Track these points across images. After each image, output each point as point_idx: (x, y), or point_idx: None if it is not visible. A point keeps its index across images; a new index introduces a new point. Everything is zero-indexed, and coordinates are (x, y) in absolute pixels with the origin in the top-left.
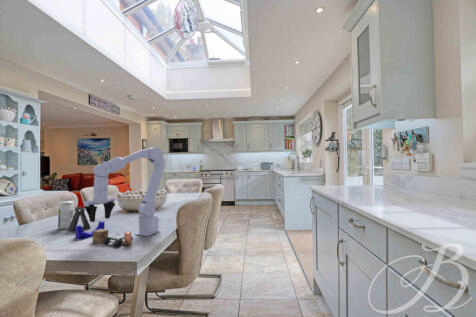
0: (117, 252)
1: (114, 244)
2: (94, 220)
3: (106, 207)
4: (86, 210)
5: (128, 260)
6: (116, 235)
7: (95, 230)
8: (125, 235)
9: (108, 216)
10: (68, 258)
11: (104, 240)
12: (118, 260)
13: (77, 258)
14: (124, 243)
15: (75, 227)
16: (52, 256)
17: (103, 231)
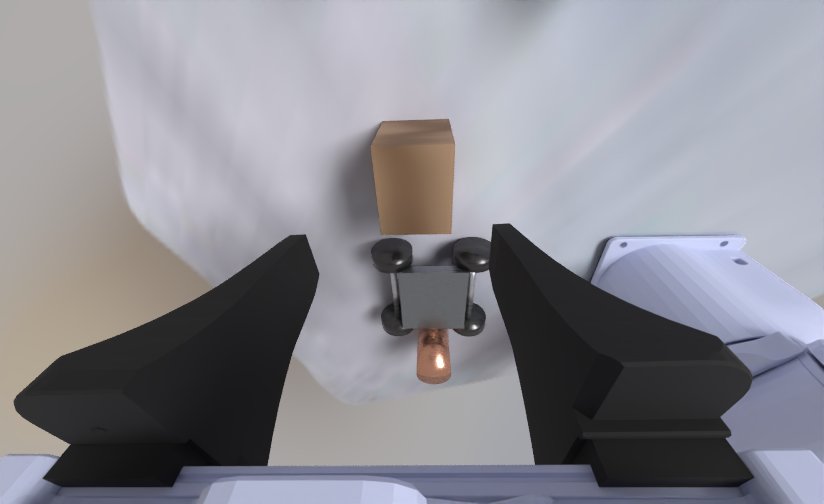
0: (355, 344)
1: (382, 314)
2: (312, 286)
3: (541, 353)
4: (150, 331)
5: (335, 396)
6: (446, 281)
7: (393, 151)
8: (417, 367)
9: (494, 286)
10: (194, 257)
11: (374, 264)
12: (318, 382)
13: None
14: (419, 328)
15: None
16: (125, 168)
17: (408, 233)
